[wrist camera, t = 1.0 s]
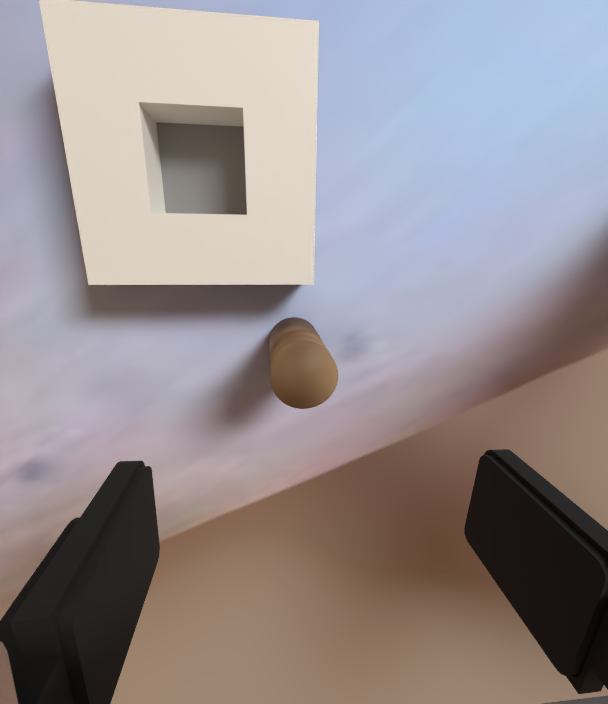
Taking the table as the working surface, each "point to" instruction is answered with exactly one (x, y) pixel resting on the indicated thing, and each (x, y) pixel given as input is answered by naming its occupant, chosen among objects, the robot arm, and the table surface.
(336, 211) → the table surface
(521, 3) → the table surface
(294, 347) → the pin
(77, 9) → the bore block
